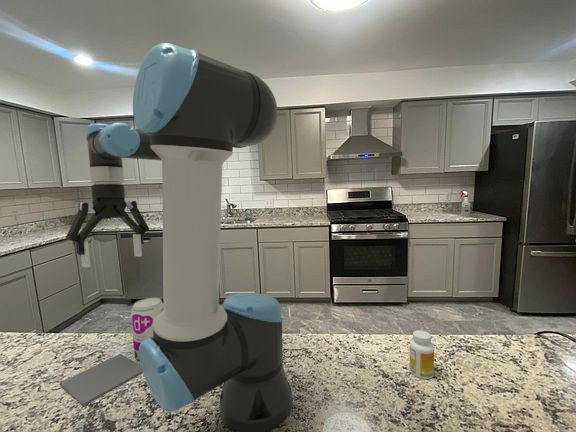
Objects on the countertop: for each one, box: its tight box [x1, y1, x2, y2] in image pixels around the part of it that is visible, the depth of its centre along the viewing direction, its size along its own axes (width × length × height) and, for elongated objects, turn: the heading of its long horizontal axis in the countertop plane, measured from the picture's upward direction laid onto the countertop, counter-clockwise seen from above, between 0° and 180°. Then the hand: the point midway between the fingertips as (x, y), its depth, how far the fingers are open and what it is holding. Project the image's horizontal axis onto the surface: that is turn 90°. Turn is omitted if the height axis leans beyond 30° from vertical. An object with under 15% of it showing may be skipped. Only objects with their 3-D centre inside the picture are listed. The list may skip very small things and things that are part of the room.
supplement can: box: [130, 297, 164, 361], centre depth 78 cm, size 8×8×15 cm
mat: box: [59, 353, 144, 407], centre depth 68 cm, size 13×14×1 cm
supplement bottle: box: [409, 329, 435, 380], centre depth 67 cm, size 5×5×10 cm
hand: (114, 261), depth 76 cm, fingers open, 13 cm apart
